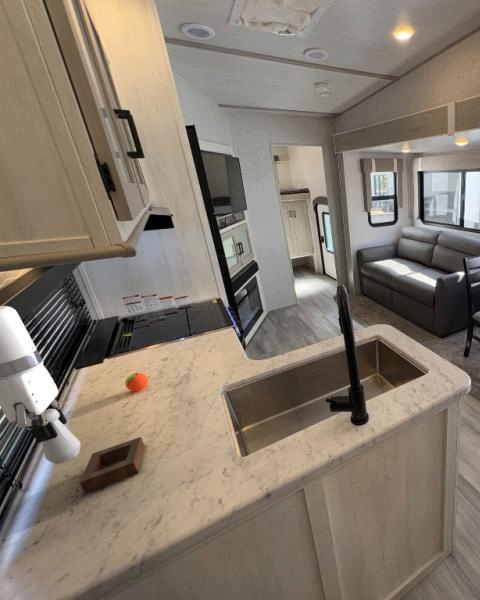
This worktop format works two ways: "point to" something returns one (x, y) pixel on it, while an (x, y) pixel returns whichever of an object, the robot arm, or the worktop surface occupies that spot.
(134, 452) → the holder
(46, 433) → the robot arm
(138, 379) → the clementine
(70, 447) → the salt shaker
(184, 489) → the worktop surface
